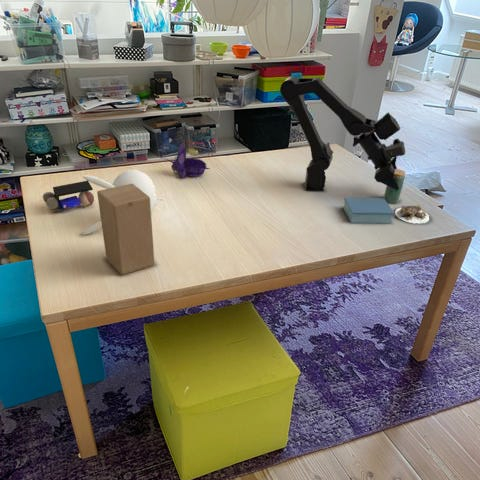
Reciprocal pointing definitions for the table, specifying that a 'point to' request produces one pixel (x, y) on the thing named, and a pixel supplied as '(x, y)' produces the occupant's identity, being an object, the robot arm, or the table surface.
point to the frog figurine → (412, 214)
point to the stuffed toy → (124, 179)
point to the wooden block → (127, 228)
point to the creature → (187, 164)
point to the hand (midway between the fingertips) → (398, 184)
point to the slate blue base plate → (368, 210)
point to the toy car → (83, 198)
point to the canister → (392, 194)
